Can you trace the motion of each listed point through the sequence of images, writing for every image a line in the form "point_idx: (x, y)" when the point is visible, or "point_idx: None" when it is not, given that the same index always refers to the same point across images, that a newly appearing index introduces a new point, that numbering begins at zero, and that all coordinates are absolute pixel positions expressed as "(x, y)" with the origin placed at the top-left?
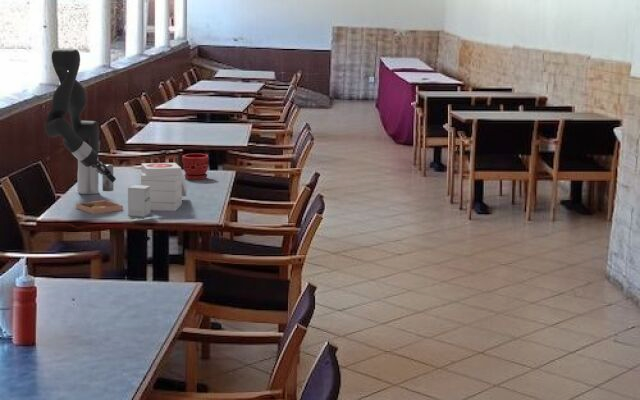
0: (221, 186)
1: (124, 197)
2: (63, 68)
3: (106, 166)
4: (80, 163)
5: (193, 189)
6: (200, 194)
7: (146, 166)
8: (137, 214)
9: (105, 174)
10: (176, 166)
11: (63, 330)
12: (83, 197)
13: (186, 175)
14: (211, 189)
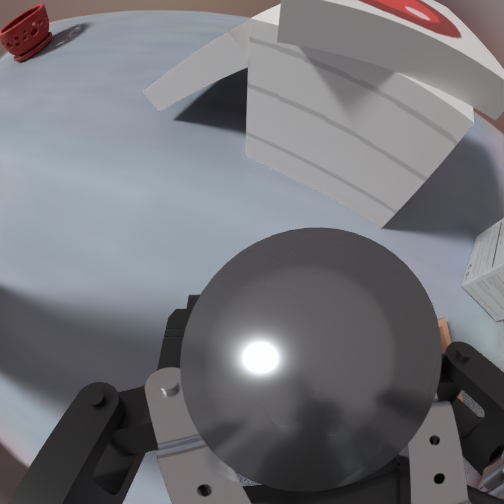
0: (125, 15)
1: (86, 212)
2: None
3: (423, 409)
4: None
5: (114, 42)
6: (180, 34)
7: (437, 35)
8: None
9: (467, 417)
10: None
11: None
12: (21, 377)
13: (19, 57)
14: (140, 23)
